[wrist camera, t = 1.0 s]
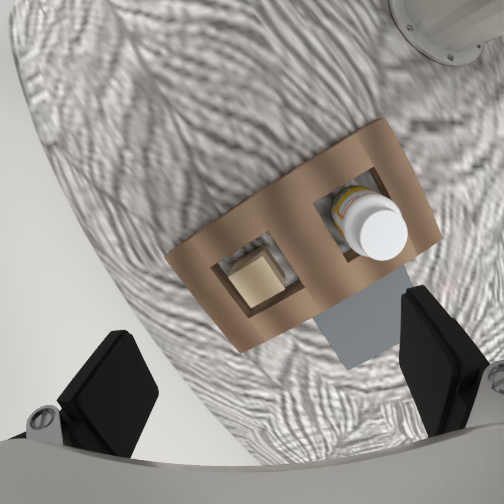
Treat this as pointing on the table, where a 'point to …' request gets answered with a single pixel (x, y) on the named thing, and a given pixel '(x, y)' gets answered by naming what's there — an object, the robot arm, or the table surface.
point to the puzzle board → (304, 238)
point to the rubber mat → (366, 320)
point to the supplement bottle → (369, 222)
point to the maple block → (257, 276)
